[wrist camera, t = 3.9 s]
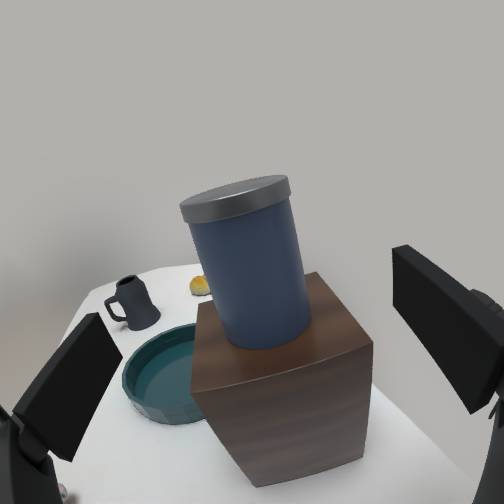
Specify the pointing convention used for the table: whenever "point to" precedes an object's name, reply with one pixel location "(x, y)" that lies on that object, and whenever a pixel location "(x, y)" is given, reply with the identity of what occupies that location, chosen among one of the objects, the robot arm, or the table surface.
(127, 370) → the round teal tray
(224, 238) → the tin
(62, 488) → the fish
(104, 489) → the table surface
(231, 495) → the table surface
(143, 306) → the mug
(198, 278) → the bread roll
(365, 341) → the brown wooden block
